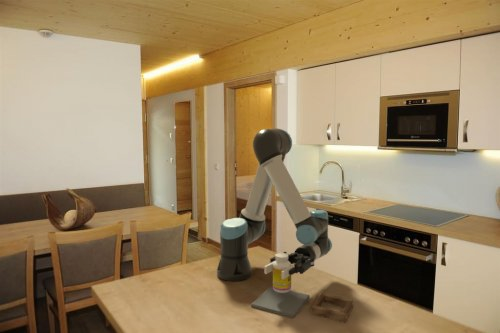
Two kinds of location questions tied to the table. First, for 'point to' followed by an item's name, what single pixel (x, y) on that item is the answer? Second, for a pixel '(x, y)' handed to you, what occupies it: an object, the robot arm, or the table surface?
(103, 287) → the table surface
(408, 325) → the table surface
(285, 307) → the slate mat
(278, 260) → the supplement bottle
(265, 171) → the robot arm
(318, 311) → the locating collar
